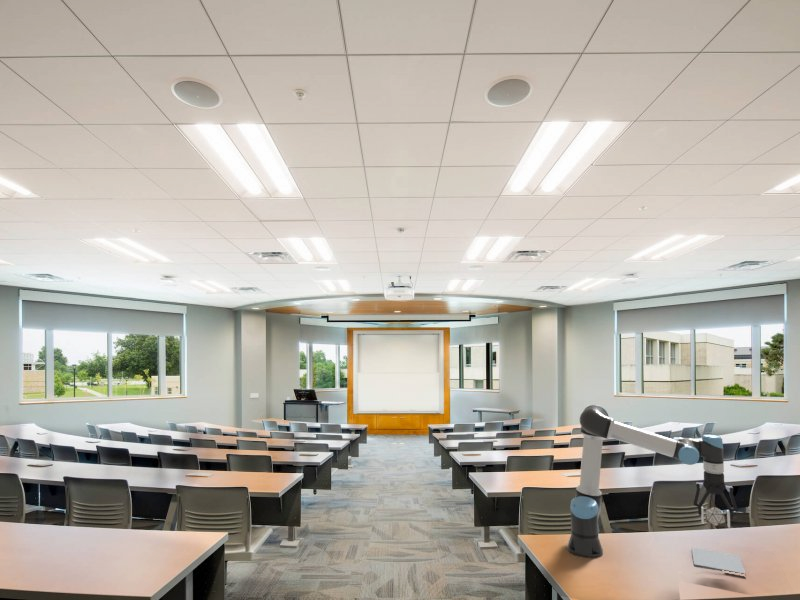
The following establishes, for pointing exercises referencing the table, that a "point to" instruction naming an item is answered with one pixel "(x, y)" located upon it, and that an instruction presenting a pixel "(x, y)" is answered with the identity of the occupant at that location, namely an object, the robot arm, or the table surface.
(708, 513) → the game die
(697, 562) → the board
